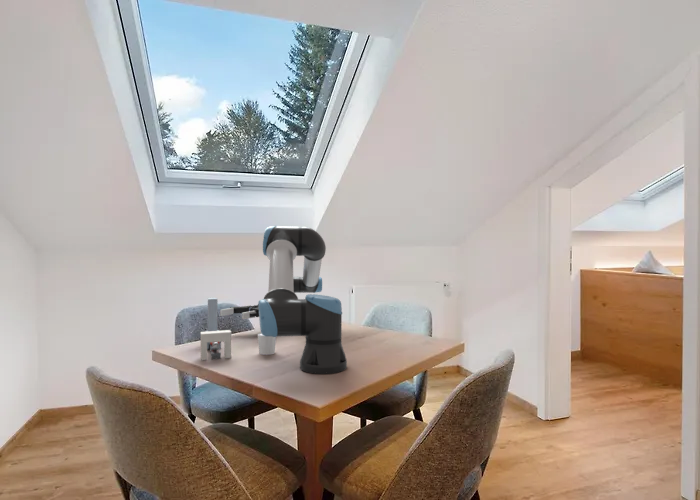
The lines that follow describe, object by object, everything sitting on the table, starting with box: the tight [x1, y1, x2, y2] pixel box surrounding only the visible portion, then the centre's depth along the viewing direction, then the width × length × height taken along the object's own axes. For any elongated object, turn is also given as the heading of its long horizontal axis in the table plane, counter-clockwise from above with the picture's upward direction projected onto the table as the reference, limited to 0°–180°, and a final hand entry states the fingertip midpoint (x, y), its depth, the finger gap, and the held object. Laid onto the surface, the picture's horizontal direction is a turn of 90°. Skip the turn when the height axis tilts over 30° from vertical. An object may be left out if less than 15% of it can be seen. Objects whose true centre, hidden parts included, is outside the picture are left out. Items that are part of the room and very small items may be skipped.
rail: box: [208, 344, 222, 360], centre depth 162 cm, size 24×3×2 cm, turn 20°
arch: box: [200, 329, 232, 361], centre depth 152 cm, size 4×10×9 cm, turn 110°
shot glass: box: [257, 332, 277, 356], centre depth 159 cm, size 7×7×7 cm
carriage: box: [205, 297, 222, 350], centre depth 169 cm, size 11×5×18 cm, turn 20°
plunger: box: [210, 342, 220, 350], centre depth 154 cm, size 9×3×3 cm, turn 20°
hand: (231, 314), depth 181 cm, fingers open, 13 cm apart
